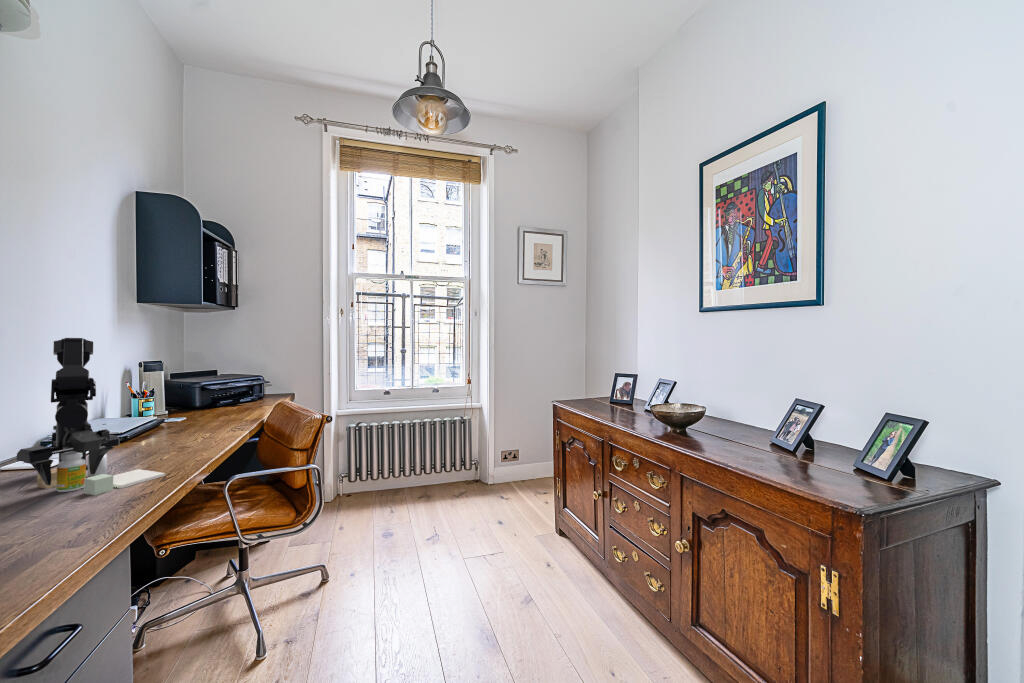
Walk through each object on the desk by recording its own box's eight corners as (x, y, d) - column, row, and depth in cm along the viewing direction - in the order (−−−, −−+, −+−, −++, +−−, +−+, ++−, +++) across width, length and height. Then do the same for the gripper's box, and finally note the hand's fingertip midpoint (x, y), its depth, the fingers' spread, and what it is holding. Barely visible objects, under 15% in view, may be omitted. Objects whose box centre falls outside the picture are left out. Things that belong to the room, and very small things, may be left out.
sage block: (84, 493, 110) (84, 478, 110) (102, 488, 114) (103, 473, 114) (94, 495, 109) (94, 480, 109) (113, 490, 112) (113, 475, 112)
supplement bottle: (66, 493, 110) (67, 456, 109) (50, 491, 111) (51, 454, 111) (91, 486, 115) (91, 450, 115) (75, 484, 116) (76, 449, 116)
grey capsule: (84, 477, 122) (84, 456, 122) (101, 473, 125) (101, 453, 125) (93, 479, 121) (93, 458, 120) (110, 474, 124) (110, 454, 124)
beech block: (37, 487, 114) (37, 472, 114) (56, 482, 117) (57, 468, 117) (46, 489, 112) (47, 474, 112) (66, 484, 116) (66, 469, 116)
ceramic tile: (93, 483, 117) (93, 480, 117) (138, 471, 127) (138, 469, 127) (121, 488, 114) (121, 485, 114) (164, 475, 124) (164, 473, 124)
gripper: (44, 430, 101) (43, 495, 101) (133, 417, 119) (132, 472, 119) (15, 427, 104) (14, 489, 105) (106, 414, 122) (105, 468, 122)
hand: (71, 479), depth 113 cm, fingers open, 9 cm apart
